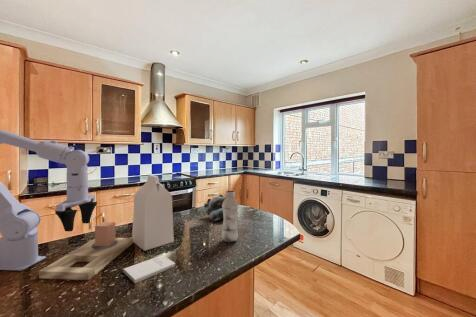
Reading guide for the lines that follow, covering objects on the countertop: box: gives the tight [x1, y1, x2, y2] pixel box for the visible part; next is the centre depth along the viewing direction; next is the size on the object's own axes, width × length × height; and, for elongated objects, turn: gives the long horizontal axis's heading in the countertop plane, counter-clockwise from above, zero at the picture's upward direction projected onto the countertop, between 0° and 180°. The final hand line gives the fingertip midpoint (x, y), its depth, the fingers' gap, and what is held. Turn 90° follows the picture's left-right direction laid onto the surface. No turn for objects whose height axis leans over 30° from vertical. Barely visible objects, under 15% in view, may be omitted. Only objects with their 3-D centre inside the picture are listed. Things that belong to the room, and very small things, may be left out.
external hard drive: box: [122, 254, 176, 284], centre depth 67 cm, size 2×8×12 cm
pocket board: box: [38, 237, 134, 281], centre depth 73 cm, size 14×24×2 cm, turn 178°
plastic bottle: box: [221, 190, 239, 243], centre depth 88 cm, size 6×7×20 cm
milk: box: [131, 174, 175, 251], centre depth 86 cm, size 12×12×26 cm
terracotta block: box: [94, 221, 116, 246], centre depth 79 cm, size 4×4×7 cm
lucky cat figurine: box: [203, 194, 226, 222], centre depth 118 cm, size 15×12×14 cm
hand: (77, 226), depth 74 cm, fingers open, 7 cm apart
